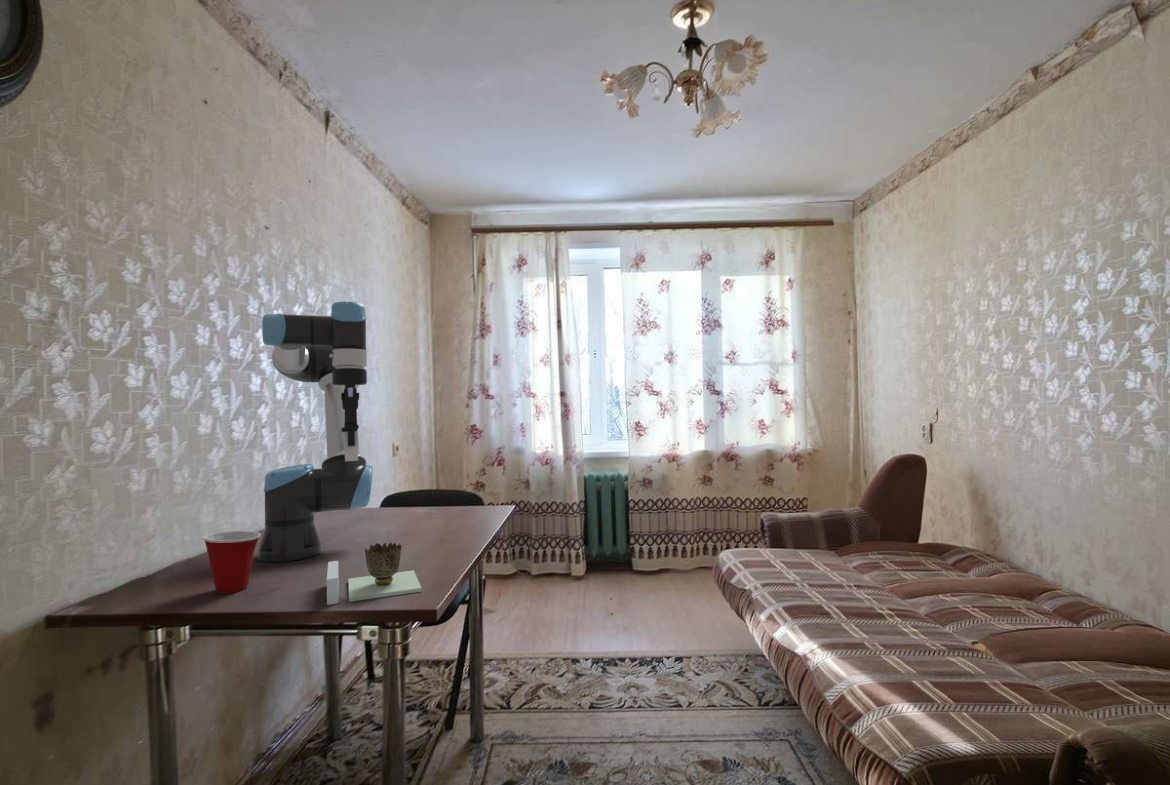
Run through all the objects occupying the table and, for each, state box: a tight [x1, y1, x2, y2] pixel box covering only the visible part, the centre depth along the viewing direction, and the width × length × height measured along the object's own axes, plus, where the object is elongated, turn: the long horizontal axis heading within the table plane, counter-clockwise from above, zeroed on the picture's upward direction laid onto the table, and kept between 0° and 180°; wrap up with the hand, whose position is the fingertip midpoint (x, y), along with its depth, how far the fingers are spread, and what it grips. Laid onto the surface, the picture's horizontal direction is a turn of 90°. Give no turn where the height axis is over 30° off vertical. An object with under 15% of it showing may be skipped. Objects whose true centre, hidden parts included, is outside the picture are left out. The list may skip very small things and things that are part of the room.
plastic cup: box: [202, 530, 262, 595], centre depth 126 cm, size 11×11×12 cm
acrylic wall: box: [326, 560, 340, 606], centre depth 122 cm, size 14×2×5 cm, turn 22°
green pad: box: [347, 570, 422, 603], centre depth 126 cm, size 14×14×1 cm
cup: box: [364, 542, 402, 586], centre depth 125 cm, size 8×7×8 cm
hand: (351, 458), depth 138 cm, fingers open, 13 cm apart
